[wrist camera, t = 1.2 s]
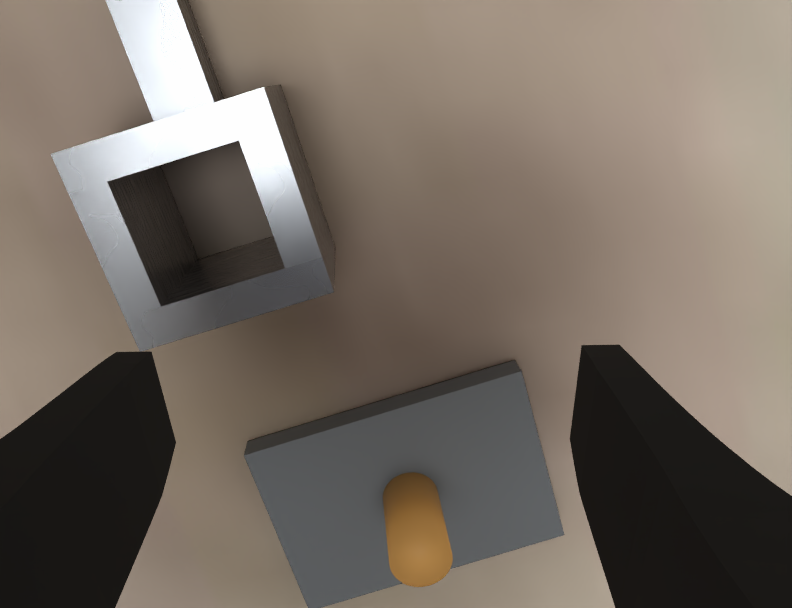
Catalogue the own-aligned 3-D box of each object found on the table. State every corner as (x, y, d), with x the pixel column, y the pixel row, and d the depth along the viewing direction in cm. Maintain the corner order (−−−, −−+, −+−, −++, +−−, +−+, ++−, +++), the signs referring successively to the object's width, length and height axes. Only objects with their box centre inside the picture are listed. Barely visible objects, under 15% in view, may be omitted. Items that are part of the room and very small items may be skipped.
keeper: (310, 592, 27) (305, 687, 23) (247, 441, 25) (228, 515, 21) (556, 518, 27) (596, 601, 23) (514, 359, 25) (550, 418, 21)
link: (180, 296, 23) (140, 351, 19) (57, 2, 20) (-29, -20, 16) (335, 248, 23) (334, 292, 19) (233, -54, 20) (201, -94, 16)
